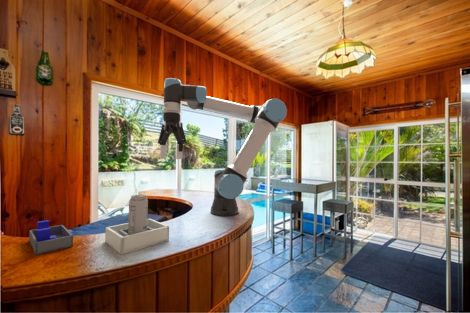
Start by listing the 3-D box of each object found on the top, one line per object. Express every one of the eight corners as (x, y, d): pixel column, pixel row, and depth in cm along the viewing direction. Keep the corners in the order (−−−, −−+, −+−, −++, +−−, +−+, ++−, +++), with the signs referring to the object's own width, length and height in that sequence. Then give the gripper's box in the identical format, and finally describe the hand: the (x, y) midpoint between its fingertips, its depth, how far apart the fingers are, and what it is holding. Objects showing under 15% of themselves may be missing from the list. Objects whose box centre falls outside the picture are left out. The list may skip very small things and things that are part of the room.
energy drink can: (148, 240, 75) (149, 196, 76) (128, 243, 72) (129, 197, 73) (145, 234, 81) (146, 194, 81) (127, 237, 78) (128, 195, 78)
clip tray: (62, 234, 82) (62, 224, 82) (72, 246, 71) (73, 235, 71) (29, 240, 75) (29, 230, 75) (35, 255, 64) (35, 243, 64)
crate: (149, 231, 87) (150, 218, 87) (168, 240, 78) (169, 226, 78) (105, 241, 75) (105, 227, 75) (121, 254, 66) (121, 237, 66)
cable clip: (55, 246, 69) (56, 227, 69) (36, 250, 66) (37, 230, 66) (53, 236, 78) (54, 219, 78) (36, 239, 75) (37, 221, 75)
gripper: (151, 114, 108) (150, 158, 107) (180, 107, 91) (179, 159, 91) (165, 117, 113) (164, 158, 113) (195, 111, 96) (194, 159, 96)
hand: (170, 158), depth 102 cm, fingers open, 13 cm apart
